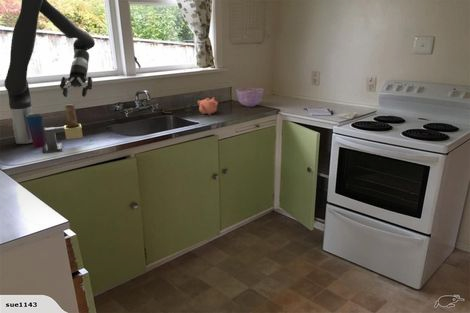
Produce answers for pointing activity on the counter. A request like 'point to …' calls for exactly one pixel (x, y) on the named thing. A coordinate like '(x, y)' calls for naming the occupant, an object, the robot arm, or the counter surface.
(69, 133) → the cup bracket
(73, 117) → the rail post
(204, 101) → the orange lumpy ball
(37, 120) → the cup
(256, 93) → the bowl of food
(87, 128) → the counter surface
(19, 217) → the counter surface
